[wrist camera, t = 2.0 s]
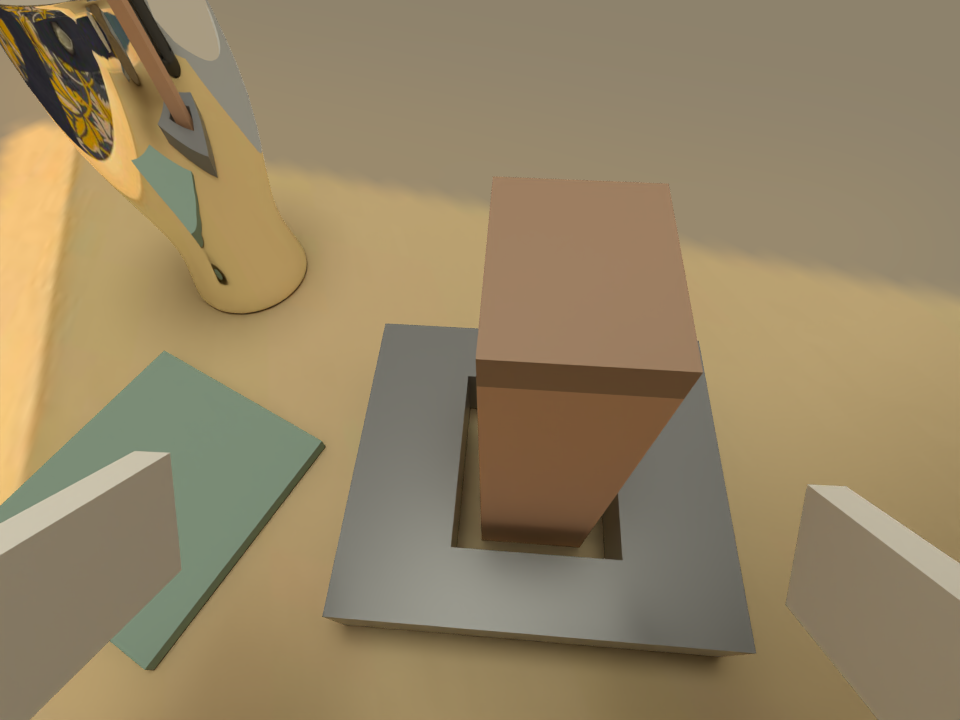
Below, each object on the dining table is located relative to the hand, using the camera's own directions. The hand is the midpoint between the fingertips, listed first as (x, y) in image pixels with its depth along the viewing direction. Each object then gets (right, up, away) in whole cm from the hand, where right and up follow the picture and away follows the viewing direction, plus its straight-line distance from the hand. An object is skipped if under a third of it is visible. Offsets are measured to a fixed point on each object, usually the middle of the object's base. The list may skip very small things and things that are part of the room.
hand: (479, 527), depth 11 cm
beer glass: (-13, +8, +18) cm, 24 cm away
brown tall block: (+2, -2, +12) cm, 12 cm away
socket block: (+2, -2, +12) cm, 12 cm away
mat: (-14, -2, +12) cm, 18 cm away
